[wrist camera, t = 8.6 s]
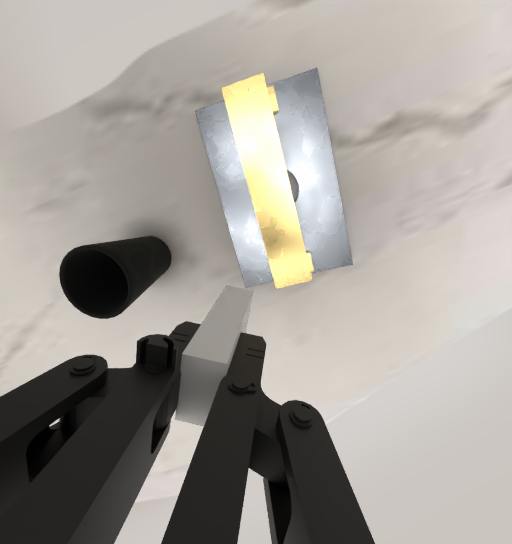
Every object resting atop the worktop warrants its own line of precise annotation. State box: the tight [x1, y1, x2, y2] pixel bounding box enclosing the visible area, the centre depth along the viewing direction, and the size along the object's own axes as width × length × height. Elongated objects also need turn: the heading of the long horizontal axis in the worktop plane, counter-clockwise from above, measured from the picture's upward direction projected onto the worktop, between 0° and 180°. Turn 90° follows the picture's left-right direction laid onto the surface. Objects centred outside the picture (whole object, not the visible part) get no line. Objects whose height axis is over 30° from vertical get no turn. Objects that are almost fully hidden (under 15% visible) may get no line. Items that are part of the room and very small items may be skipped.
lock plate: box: [195, 68, 353, 287], centre depth 31 cm, size 22×14×6 cm, turn 15°
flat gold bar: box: [221, 73, 312, 288], centre depth 25 cm, size 3×16×7 cm, turn 16°
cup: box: [59, 236, 171, 319], centre depth 33 cm, size 8×8×12 cm
